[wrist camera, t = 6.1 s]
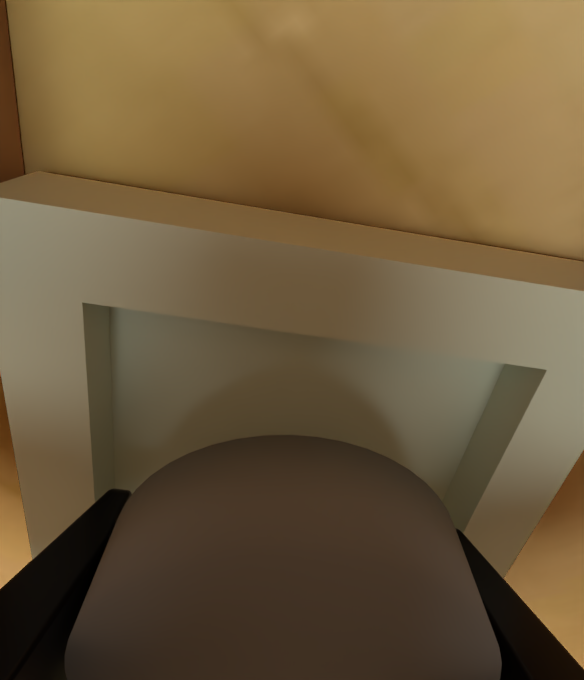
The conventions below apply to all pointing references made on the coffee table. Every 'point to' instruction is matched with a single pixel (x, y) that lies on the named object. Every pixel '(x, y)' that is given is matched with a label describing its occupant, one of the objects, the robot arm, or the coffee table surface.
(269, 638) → the cylinder
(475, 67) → the coffee table surface
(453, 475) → the tray
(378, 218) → the coffee table surface
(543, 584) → the coffee table surface
